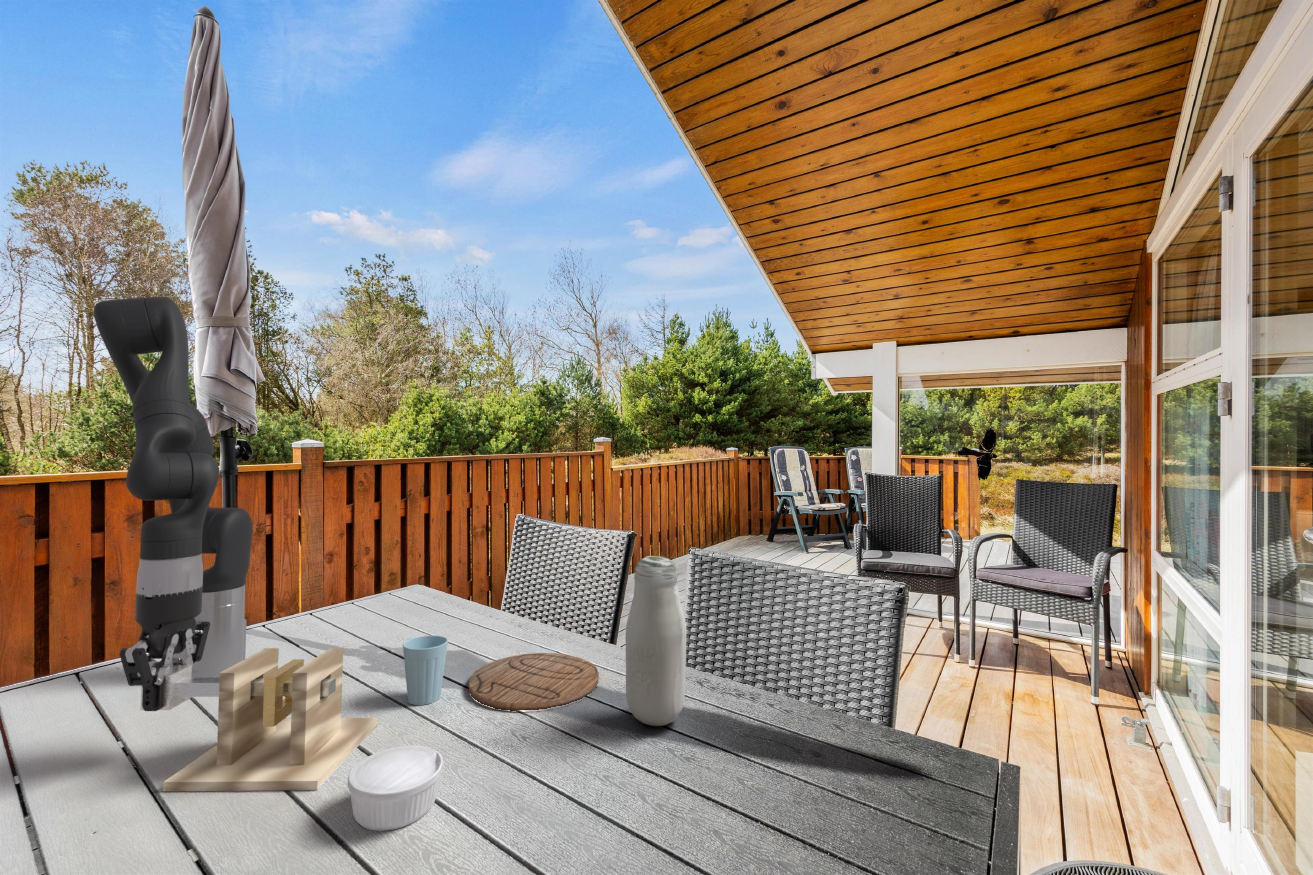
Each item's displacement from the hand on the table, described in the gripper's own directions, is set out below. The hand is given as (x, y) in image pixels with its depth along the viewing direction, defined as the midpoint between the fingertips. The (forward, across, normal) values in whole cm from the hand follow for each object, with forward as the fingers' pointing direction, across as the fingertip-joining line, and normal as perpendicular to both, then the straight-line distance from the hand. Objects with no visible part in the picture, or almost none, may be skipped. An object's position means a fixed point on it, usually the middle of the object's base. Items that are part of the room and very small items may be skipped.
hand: (166, 702), depth 84 cm
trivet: (+8, -26, +50) cm, 57 cm away
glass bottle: (+8, -10, +73) cm, 74 cm away
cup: (+8, -19, +31) cm, 37 cm away
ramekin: (+8, +13, +39) cm, 42 cm away
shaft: (0, 0, +11) cm, 11 cm away
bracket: (+8, 0, +17) cm, 19 cm away
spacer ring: (-2, 0, +17) cm, 17 cm away
